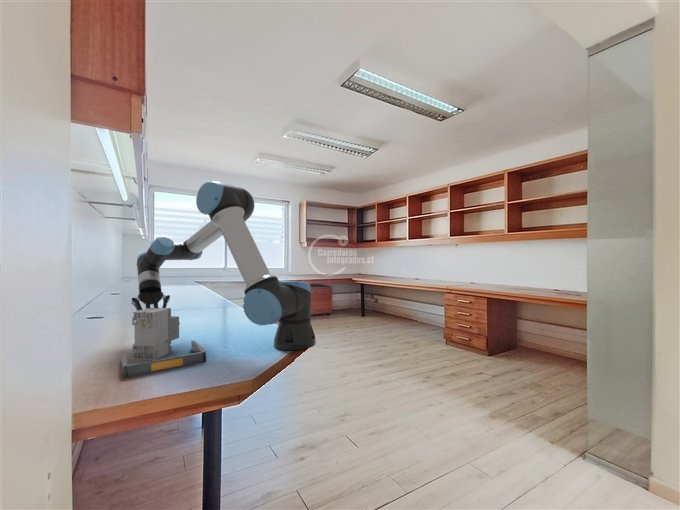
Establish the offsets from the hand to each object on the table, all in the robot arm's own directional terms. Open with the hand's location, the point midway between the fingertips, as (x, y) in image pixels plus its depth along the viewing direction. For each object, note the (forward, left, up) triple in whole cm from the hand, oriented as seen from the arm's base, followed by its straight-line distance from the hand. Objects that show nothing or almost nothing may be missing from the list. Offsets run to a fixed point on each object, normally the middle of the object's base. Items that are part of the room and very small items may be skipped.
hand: (154, 334), depth 111 cm
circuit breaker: (-8, 0, -5) cm, 9 cm away
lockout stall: (-18, 0, -5) cm, 19 cm away
